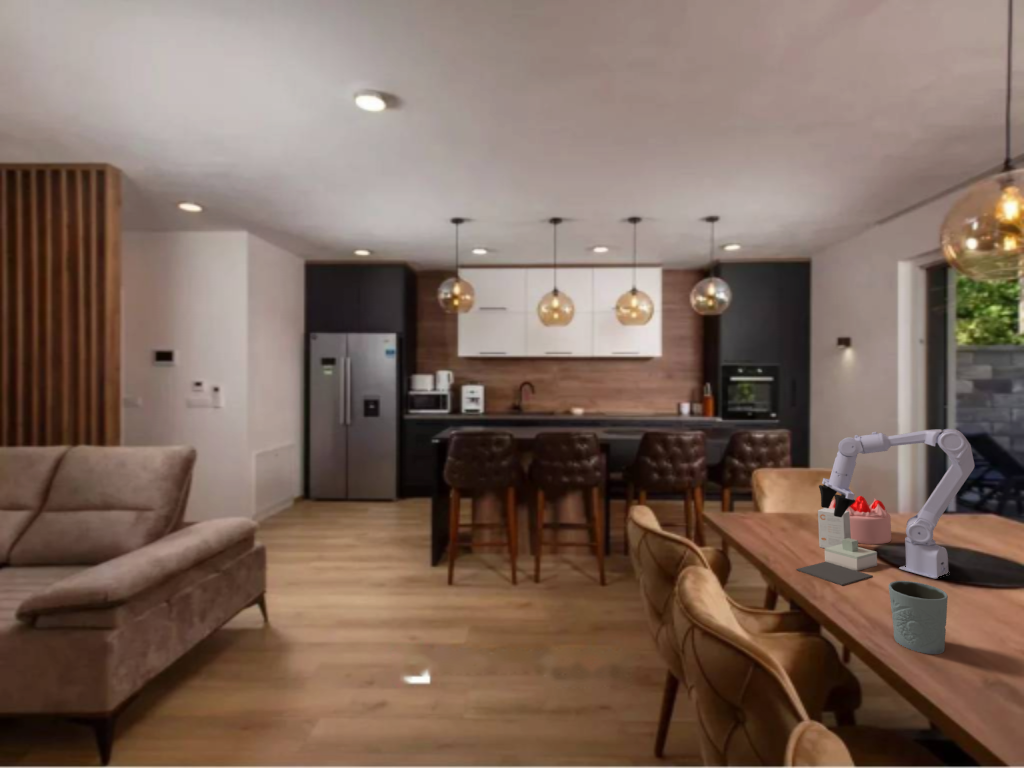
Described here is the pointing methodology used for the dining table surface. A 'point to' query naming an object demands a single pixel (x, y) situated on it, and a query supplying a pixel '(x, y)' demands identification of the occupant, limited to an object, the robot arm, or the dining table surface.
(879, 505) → the cake
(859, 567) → the shallow white tray
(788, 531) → the dining table surface
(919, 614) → the green embossed pot
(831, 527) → the small box
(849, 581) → the mat
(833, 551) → the lid
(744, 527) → the dining table surface
